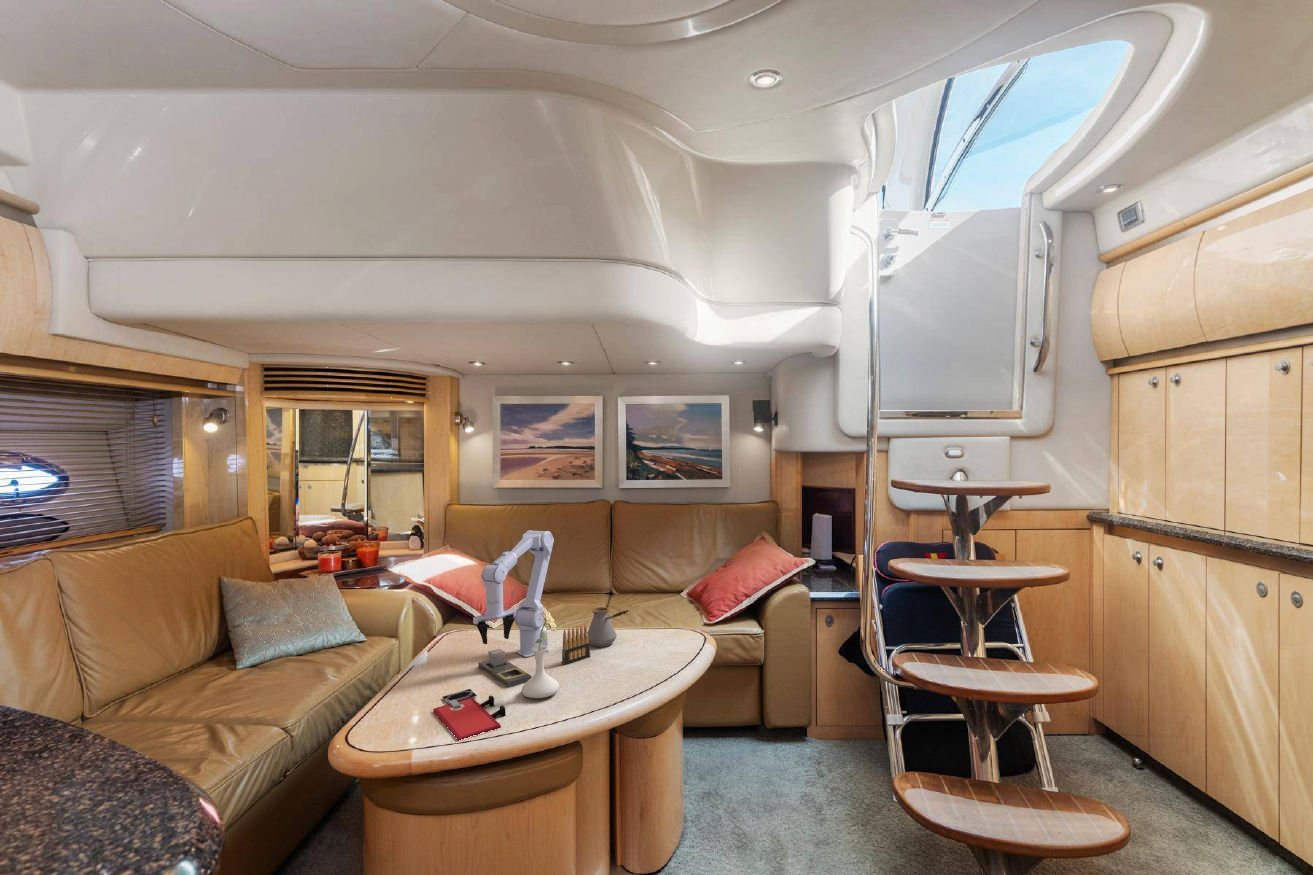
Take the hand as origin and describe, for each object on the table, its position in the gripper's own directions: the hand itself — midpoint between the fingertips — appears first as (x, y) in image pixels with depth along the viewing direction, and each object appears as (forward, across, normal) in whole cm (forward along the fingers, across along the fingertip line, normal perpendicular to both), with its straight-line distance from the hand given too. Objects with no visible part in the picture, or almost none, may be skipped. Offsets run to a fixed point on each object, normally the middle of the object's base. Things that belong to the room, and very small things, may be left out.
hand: (495, 640), depth 203 cm
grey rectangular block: (+10, 0, 0) cm, 10 cm away
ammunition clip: (+10, +24, -12) cm, 29 cm away
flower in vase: (+10, +2, -29) cm, 31 cm away
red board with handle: (+10, -20, -27) cm, 35 cm away
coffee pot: (+10, +41, -8) cm, 43 cm away
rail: (+10, 0, -6) cm, 11 cm away
